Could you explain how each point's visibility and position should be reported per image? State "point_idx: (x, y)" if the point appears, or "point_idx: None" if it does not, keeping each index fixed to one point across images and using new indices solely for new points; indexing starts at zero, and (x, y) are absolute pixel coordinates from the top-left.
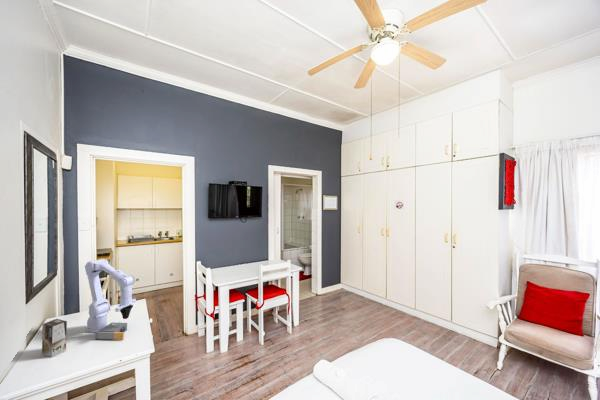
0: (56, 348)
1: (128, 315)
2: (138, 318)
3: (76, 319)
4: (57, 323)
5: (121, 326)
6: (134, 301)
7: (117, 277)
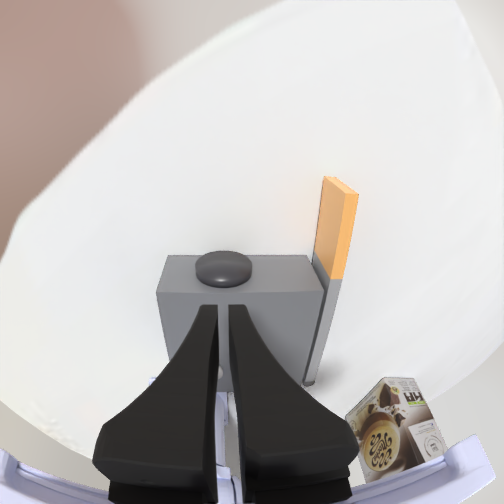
0: (416, 398)
1: (208, 324)
2: (22, 287)
3: None
4: None
5: (231, 296)
6: (4, 467)
7: None
